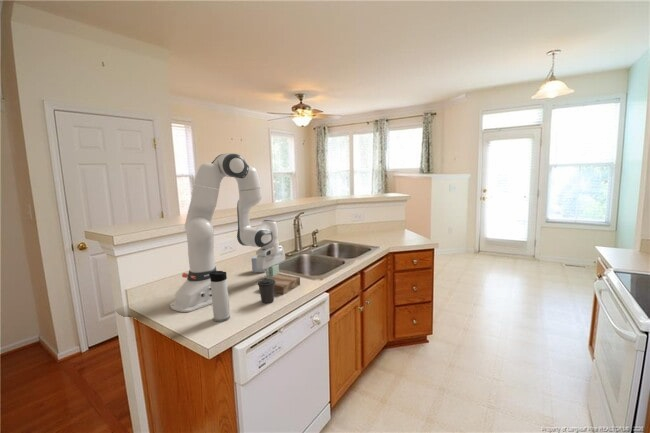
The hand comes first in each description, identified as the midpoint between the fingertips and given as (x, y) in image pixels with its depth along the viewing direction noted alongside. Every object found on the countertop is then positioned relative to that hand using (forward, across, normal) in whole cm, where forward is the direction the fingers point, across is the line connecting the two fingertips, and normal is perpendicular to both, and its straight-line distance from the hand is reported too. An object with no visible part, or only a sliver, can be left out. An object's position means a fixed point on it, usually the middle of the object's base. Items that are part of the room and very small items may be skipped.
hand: (272, 273), depth 166 cm
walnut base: (+3, +9, +13) cm, 16 cm away
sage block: (+3, 0, 0) cm, 3 cm away
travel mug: (+3, +46, +12) cm, 48 cm away
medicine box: (+3, -5, -14) cm, 15 cm away
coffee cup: (+3, +25, +18) cm, 31 cm away
